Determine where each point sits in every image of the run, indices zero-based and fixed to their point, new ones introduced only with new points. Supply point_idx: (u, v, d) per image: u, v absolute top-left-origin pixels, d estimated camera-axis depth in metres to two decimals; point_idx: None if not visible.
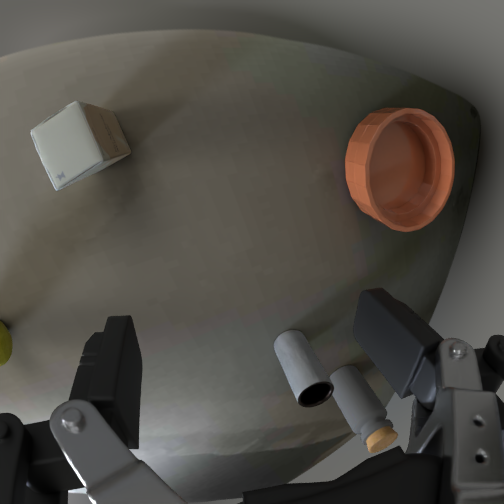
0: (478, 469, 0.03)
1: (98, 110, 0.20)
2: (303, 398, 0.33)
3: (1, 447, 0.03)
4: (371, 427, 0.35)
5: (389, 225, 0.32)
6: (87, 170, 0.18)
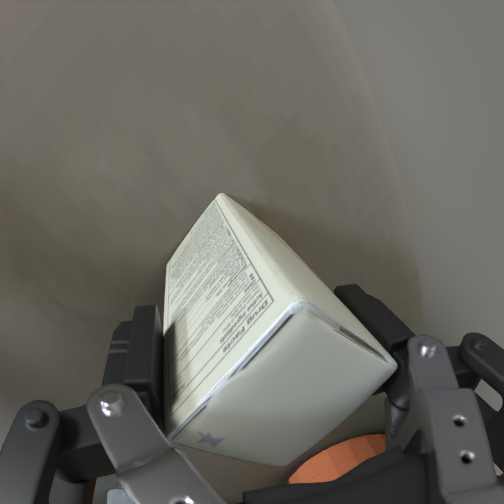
0: (478, 469, 0.03)
1: None
2: None
3: (33, 434, 0.04)
4: None
5: None
6: (252, 461, 0.07)
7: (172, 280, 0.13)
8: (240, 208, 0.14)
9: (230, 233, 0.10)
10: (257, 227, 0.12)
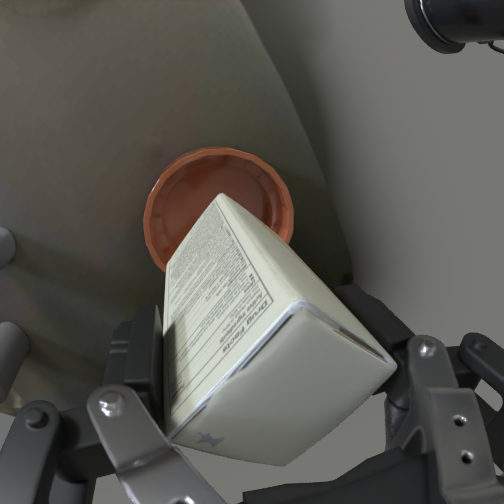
0: (478, 469, 0.03)
1: None
2: None
3: (33, 434, 0.04)
4: None
5: (146, 236, 0.27)
6: (251, 461, 0.07)
7: (172, 280, 0.13)
8: (240, 208, 0.14)
9: (230, 233, 0.10)
10: (257, 227, 0.12)
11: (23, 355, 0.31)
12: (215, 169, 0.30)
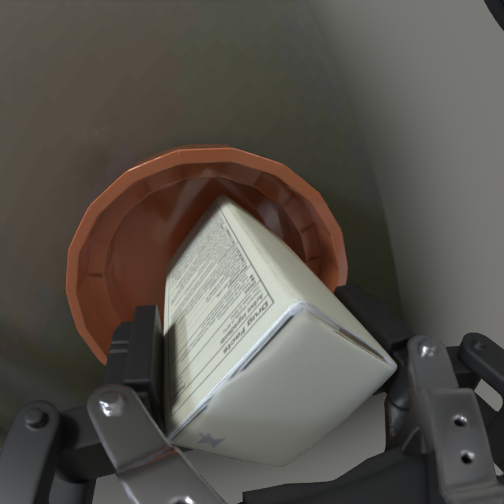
0: (478, 469, 0.03)
1: None
2: None
3: (33, 434, 0.04)
4: None
5: (75, 317, 0.13)
6: (252, 461, 0.07)
7: (172, 281, 0.13)
8: (240, 209, 0.14)
9: (230, 234, 0.10)
10: (257, 228, 0.12)
11: None
12: (202, 187, 0.16)
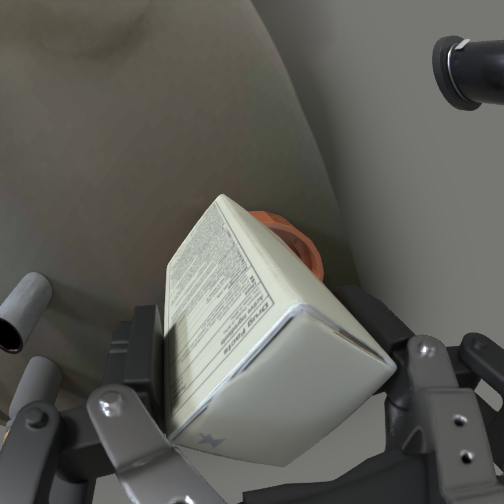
0: (478, 469, 0.03)
1: None
2: None
3: (33, 434, 0.04)
4: None
5: None
6: (252, 461, 0.07)
7: (172, 281, 0.13)
8: (240, 209, 0.14)
9: (230, 235, 0.10)
10: (257, 229, 0.12)
11: (58, 388, 0.34)
12: None
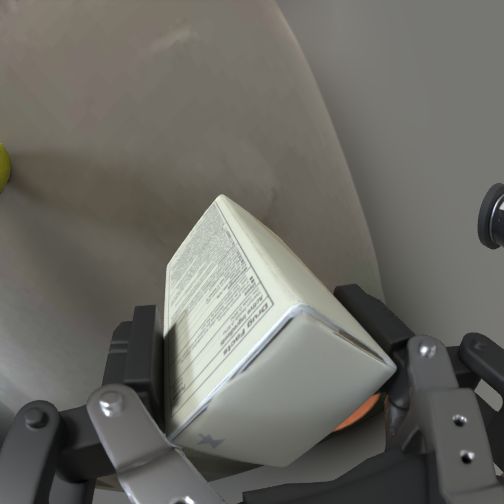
0: (478, 469, 0.03)
1: None
2: None
3: (33, 434, 0.04)
4: None
5: None
6: (251, 462, 0.07)
7: (172, 281, 0.13)
8: (240, 210, 0.14)
9: (230, 235, 0.10)
10: (257, 229, 0.12)
11: None
12: None
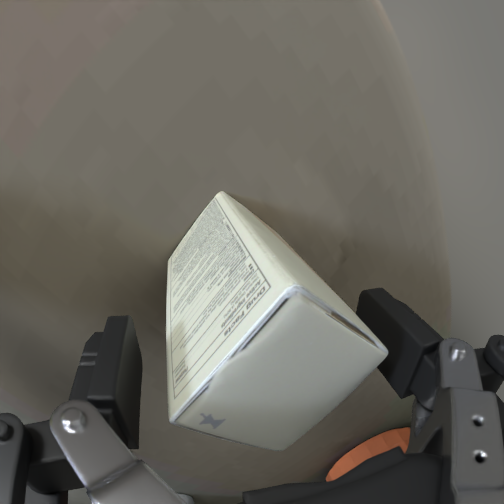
0: (478, 469, 0.03)
1: None
2: None
3: (1, 447, 0.03)
4: None
5: None
6: (250, 444, 0.08)
7: (174, 274, 0.14)
8: (239, 205, 0.14)
9: (230, 228, 0.11)
10: (255, 223, 0.12)
11: None
12: None
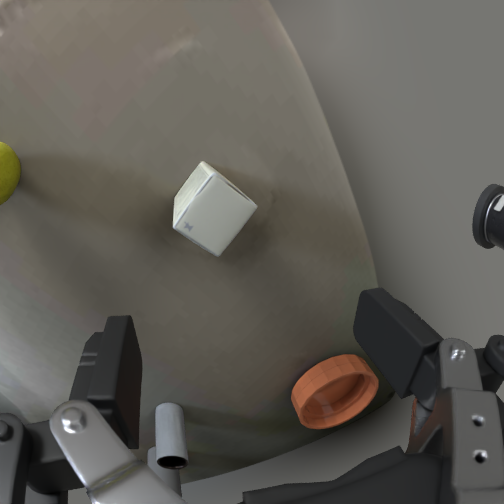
0: (478, 469, 0.03)
1: None
2: None
3: (1, 447, 0.03)
4: None
5: (300, 414, 0.43)
6: (204, 247, 0.23)
7: (178, 197, 0.28)
8: (210, 166, 0.29)
9: (202, 170, 0.26)
10: (214, 170, 0.27)
11: None
12: None
